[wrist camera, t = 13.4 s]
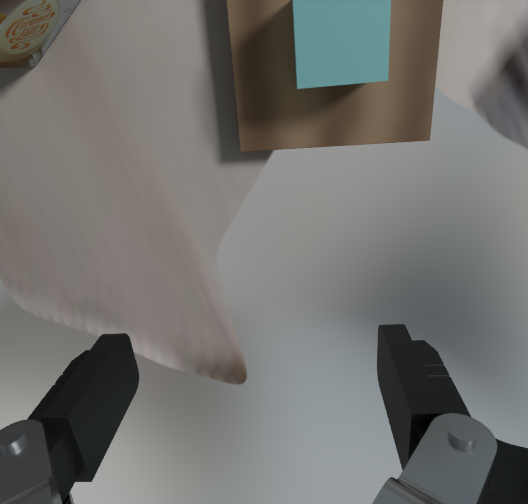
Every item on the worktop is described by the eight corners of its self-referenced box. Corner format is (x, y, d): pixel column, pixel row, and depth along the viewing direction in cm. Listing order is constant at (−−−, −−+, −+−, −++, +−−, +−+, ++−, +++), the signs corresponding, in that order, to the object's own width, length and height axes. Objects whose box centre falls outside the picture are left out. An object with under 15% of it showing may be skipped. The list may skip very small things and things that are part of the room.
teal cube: (296, 85, 33) (297, 89, 27) (291, -1, 30) (292, -16, 25) (371, 78, 32) (388, 80, 27) (373, -10, 30) (392, -28, 24)
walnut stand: (244, 145, 38) (240, 151, 35) (225, -64, 31) (219, -77, 29) (419, 135, 36) (429, 140, 34) (438, -86, 30) (452, -102, 27)
